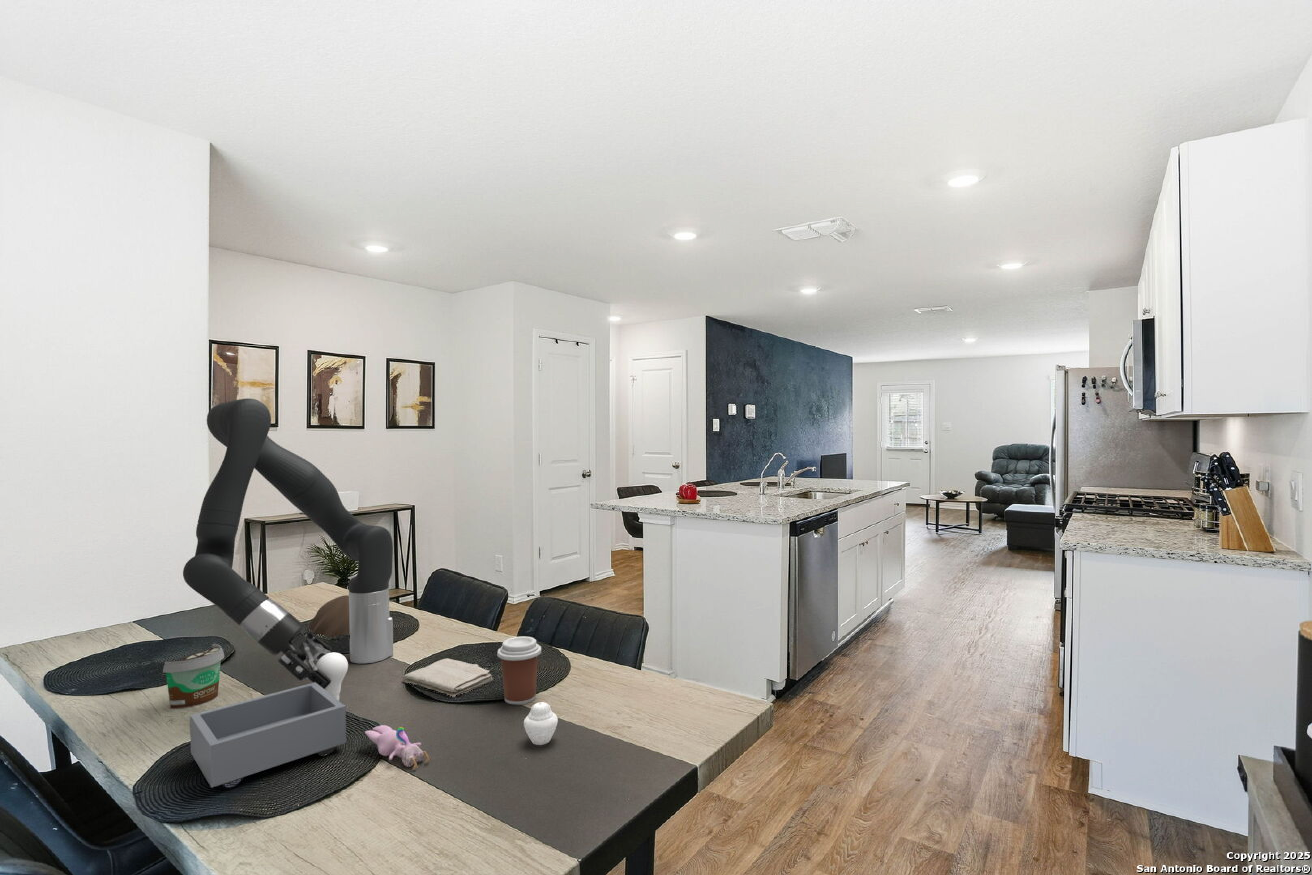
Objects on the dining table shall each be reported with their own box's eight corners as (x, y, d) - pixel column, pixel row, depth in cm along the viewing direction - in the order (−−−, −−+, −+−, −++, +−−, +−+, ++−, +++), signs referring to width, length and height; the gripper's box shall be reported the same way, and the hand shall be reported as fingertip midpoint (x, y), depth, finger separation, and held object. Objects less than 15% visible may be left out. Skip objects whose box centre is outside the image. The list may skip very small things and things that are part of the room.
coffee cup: (550, 693, 139) (549, 637, 139) (525, 710, 130) (524, 650, 130) (516, 687, 143) (515, 632, 142) (488, 702, 134) (487, 645, 134)
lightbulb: (355, 702, 136) (354, 649, 136) (332, 714, 130) (331, 659, 130) (332, 698, 138) (331, 647, 138) (308, 710, 132) (307, 656, 132)
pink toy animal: (436, 766, 112) (384, 732, 120) (439, 734, 111) (386, 701, 119) (405, 783, 106) (352, 746, 114) (408, 749, 106) (354, 714, 114)
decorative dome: (292, 640, 178) (291, 604, 178) (335, 619, 198) (335, 586, 198) (358, 641, 176) (357, 605, 176) (395, 620, 196) (395, 587, 196)
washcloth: (456, 700, 137) (455, 686, 137) (400, 684, 146) (400, 671, 146) (496, 681, 147) (496, 668, 147) (442, 668, 156) (442, 655, 156)
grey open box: (316, 723, 126) (315, 682, 126) (346, 751, 115) (345, 705, 115) (190, 761, 112) (189, 714, 112) (211, 797, 100) (210, 745, 100)
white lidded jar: (542, 752, 113) (541, 712, 113) (516, 743, 116) (515, 705, 116) (565, 737, 118) (564, 699, 118) (540, 730, 122) (539, 693, 122)
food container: (188, 713, 131) (187, 664, 131) (163, 711, 133) (162, 662, 132) (239, 689, 143) (238, 644, 143) (215, 687, 145) (214, 643, 145)
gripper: (272, 622, 125) (337, 676, 127) (298, 603, 139) (356, 652, 141) (242, 651, 124) (308, 706, 126) (272, 629, 138) (331, 679, 140)
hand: (334, 677), depth 134 cm, fingers open, 8 cm apart
